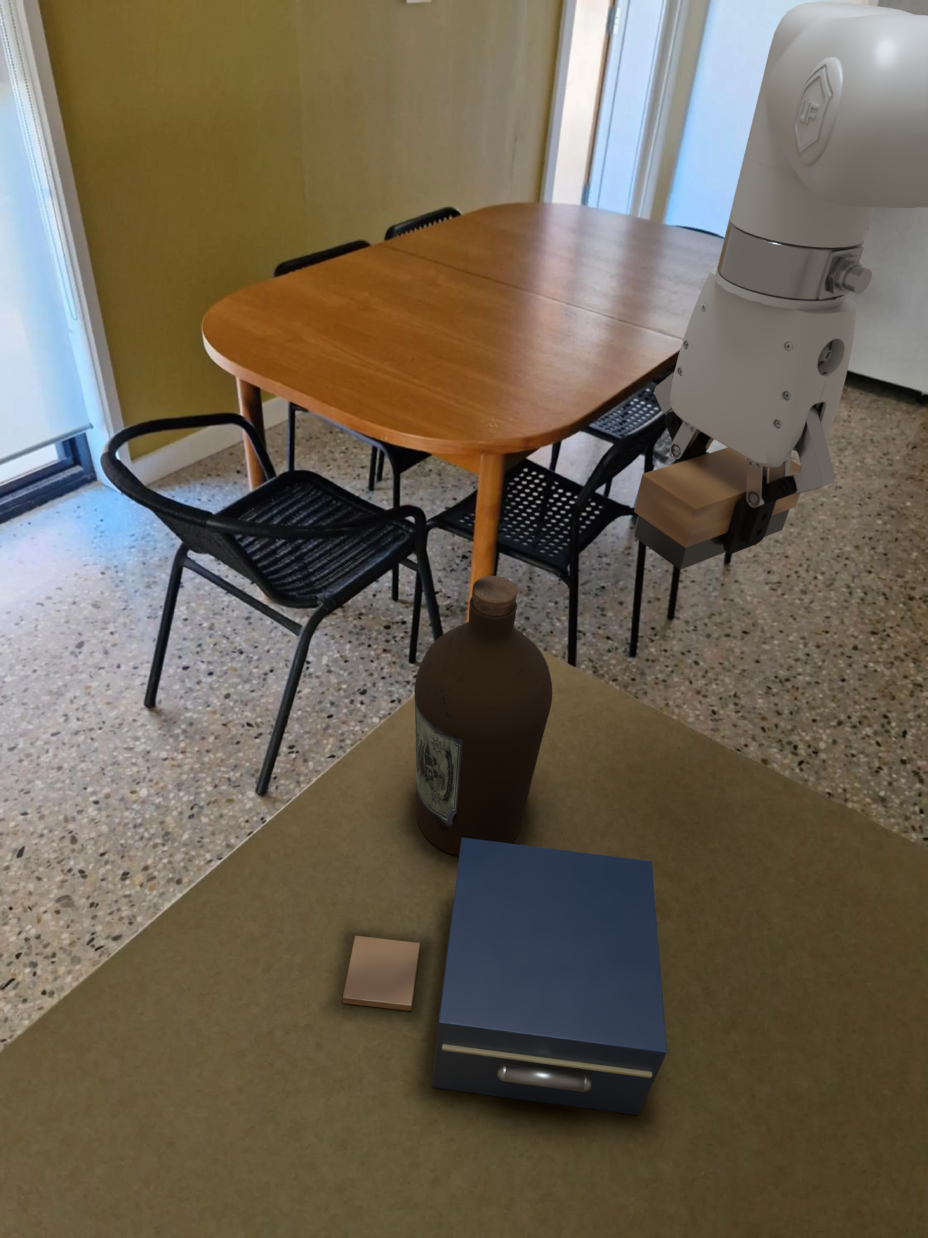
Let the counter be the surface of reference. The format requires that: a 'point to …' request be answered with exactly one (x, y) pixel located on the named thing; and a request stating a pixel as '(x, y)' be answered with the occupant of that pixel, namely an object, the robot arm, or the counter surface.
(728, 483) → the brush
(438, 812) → the olive oil
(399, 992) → the coaster
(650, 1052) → the blue drawer box
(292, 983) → the counter surface
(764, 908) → the counter surface
